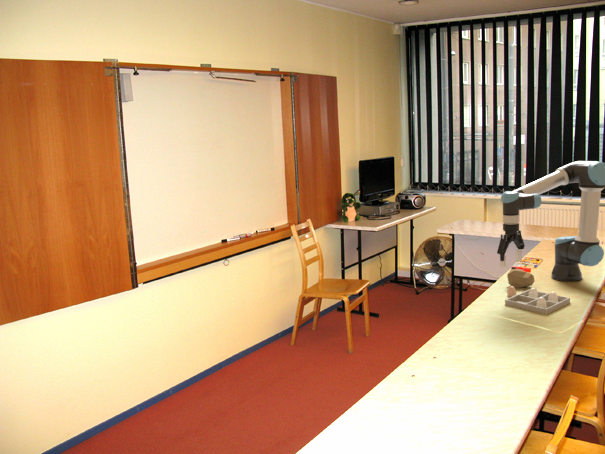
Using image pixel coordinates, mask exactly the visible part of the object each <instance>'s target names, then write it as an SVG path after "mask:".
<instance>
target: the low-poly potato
mask: <svg viewBox="0 0 605 454" xmlns="http://www.w3.org/2000/svg"><path fill="white" fill-rule="evenodd" d="M507 283H508V285H510V286H514V287H515V288H526V287H530V286H533V285H534V283H535V276H534V275H533V274H532V273H531V272H527V271H525V270H522V269H521V268H511V269H510V270H509V271H508V273H507Z"/></svg>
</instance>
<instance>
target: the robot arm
mask: <svg viewBox="0 0 605 454" xmlns="http://www.w3.org/2000/svg"><path fill="white" fill-rule="evenodd" d="M575 183H577V184H578V188H579V189H580V190H581V196H580V207H579V208H580V209H579V219H578V221H579V222H578V231H577V232H578V233H577V236H576V235H575V236H573V235H572V236H571V235H569V236H568V235H567V236H559V237H557V238H555V239H554V242H555V243H554V265H553V268H552V271H551V278H552V279H554V280H556V281H561V282H577V281H580V280H582V278H583V274H582V271H581V267H580V265H581V266H584V267H585V266H587V267H594V266H597V265H599V263H601V262H602V260H603V258H604V254H605V251H604V248H603V247H602V246H601V245H600V239H599V238H598V236H597V235H598V226H599V224H598V223H599V214H600V203H601V192H602V191H603V190H604V189H605V162H603V161H598V160H577V161H572V162H570V163H568V164H567V163H566V164H565V165H563V166H561V167H559V168H556V169H555V171H554V172H552V173H549V174H547V175H545V176H543V177H541V178H539V179H537V180H535V181H532V182H530V183H528V184H526V185H522V186H521V187H519V188H516V189H514V190H512V191H511V190H506V191H504V192H503V193H501V196H500V201H501V203H502V230H503V232H504V234H500V240H499V242H498V243H499V244H498V247H497V248H498V249H497V251H496V252H497V253H496V254H497V255H499V261H500V263H499V264H500V265H499V267H501V268H507V254H506V252H507V250H508V248H509V245H510V244H511V243H512V242H513V243H514V245H515V247H516V248H515V261H516V262H523V260H522V259H523V255H522V254H523V250H524V249H525V246H526V245H525V242H524V238H523V236H522V230H520V211H524V210H525V211H526V210H534V209H538V208H540V207H541V205H542V197H541V196H540V195H542V194H543V193H546V192H548V191H550V190H553V189H555V188H558V187H559V186H566V185H569V184H575Z"/></svg>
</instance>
